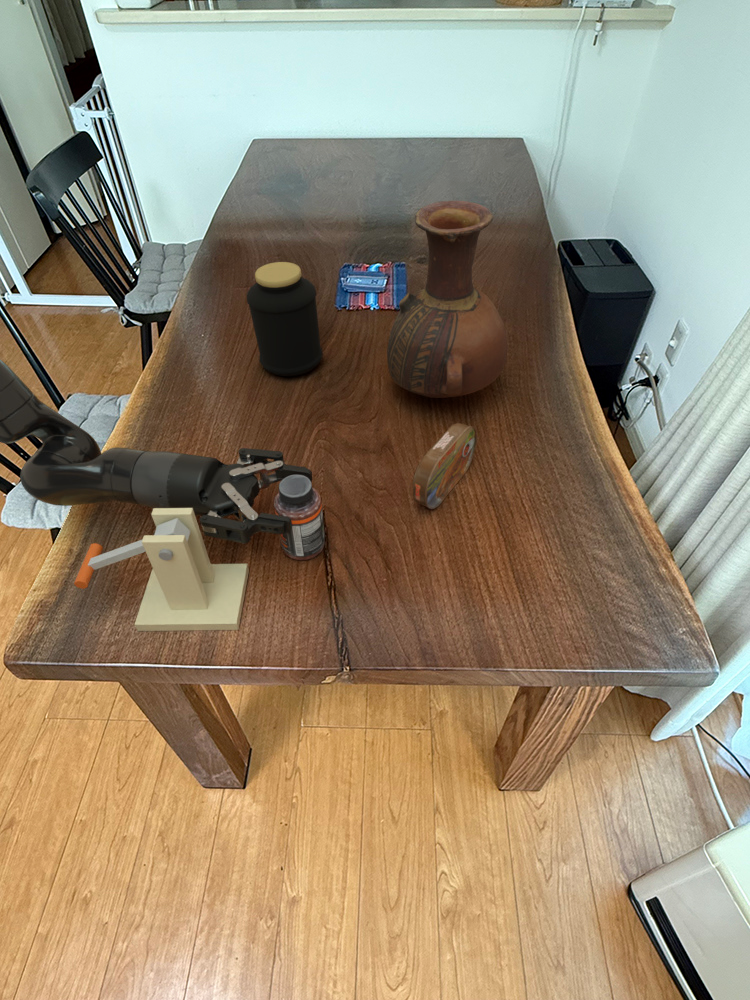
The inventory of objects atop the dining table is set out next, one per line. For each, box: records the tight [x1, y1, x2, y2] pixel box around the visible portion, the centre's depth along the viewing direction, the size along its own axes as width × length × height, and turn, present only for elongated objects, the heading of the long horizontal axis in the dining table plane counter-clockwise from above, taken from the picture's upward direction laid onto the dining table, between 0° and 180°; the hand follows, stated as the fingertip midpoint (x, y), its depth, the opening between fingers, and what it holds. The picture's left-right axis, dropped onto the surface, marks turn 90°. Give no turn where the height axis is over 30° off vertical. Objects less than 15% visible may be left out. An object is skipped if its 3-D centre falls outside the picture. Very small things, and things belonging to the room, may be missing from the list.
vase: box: [386, 200, 508, 399], centre depth 95 cm, size 25×20×30 cm
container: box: [246, 261, 324, 377], centre depth 105 cm, size 12×12×18 cm
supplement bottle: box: [273, 475, 326, 561], centre depth 76 cm, size 6×6×11 cm
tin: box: [412, 422, 478, 510], centre depth 85 cm, size 15×3×8 cm, turn 146°
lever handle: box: [73, 518, 191, 589], centre depth 67 cm, size 14×6×2 cm, turn 91°
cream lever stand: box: [134, 508, 250, 632], centre depth 69 cm, size 12×9×14 cm
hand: (301, 500), depth 73 cm, fingers open, 8 cm apart
